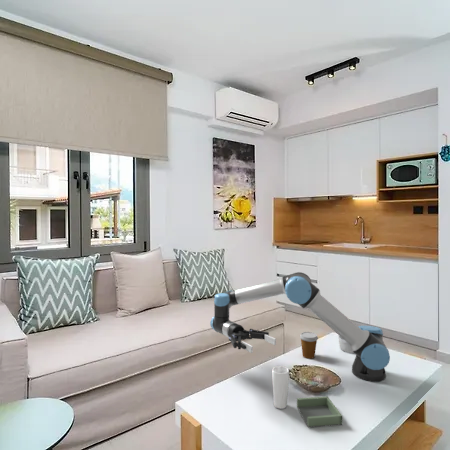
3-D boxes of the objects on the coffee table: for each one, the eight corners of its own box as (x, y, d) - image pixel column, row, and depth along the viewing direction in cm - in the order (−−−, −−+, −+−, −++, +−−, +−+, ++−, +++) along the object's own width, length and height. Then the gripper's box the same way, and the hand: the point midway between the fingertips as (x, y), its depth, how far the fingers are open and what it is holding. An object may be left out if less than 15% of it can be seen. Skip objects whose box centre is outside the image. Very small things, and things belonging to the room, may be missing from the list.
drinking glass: (270, 401, 139) (270, 366, 138) (286, 400, 139) (286, 365, 139) (273, 411, 132) (274, 374, 131) (290, 410, 133) (291, 373, 132)
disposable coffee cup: (318, 360, 176) (318, 338, 175) (299, 359, 178) (300, 337, 177) (317, 353, 185) (317, 332, 185) (299, 351, 187) (299, 330, 187)
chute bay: (327, 404, 136) (327, 396, 136) (342, 425, 123) (342, 415, 123) (296, 406, 135) (296, 398, 135) (308, 427, 122) (308, 418, 122)
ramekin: (366, 349, 191) (366, 337, 190) (357, 356, 181) (357, 344, 181) (344, 343, 200) (344, 331, 199) (334, 349, 190) (334, 337, 190)
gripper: (253, 333, 167) (284, 347, 150) (212, 344, 152) (241, 362, 135) (253, 318, 167) (284, 330, 150) (212, 328, 152) (241, 343, 135)
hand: (264, 345), depth 143 cm, fingers open, 13 cm apart
